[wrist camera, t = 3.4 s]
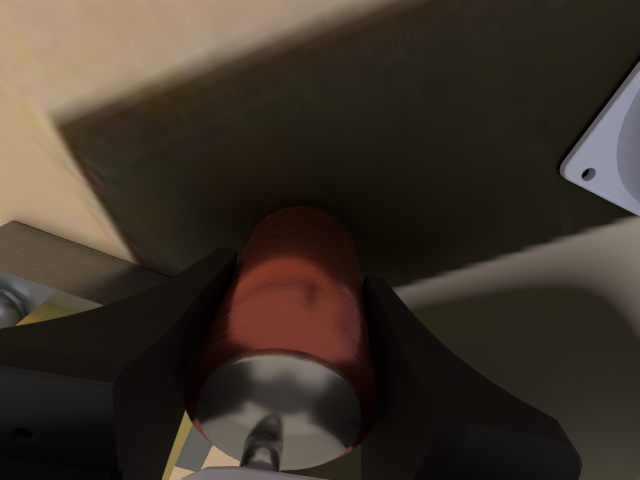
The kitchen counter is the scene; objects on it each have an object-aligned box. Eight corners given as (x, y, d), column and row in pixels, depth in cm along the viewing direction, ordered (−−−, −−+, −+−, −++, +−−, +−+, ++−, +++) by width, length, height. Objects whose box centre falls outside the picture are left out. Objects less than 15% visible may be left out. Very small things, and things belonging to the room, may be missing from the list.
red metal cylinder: (376, 233, 14) (427, 417, 7) (328, 315, 16) (328, 529, 8) (270, 188, 13) (198, 339, 6) (233, 279, 15) (144, 480, 8)
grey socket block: (266, 312, 18) (249, 385, 14) (214, 421, 21) (189, 504, 17) (-27, 206, 15) (-152, 256, 11) (-28, 349, 19) (-123, 425, 15)
